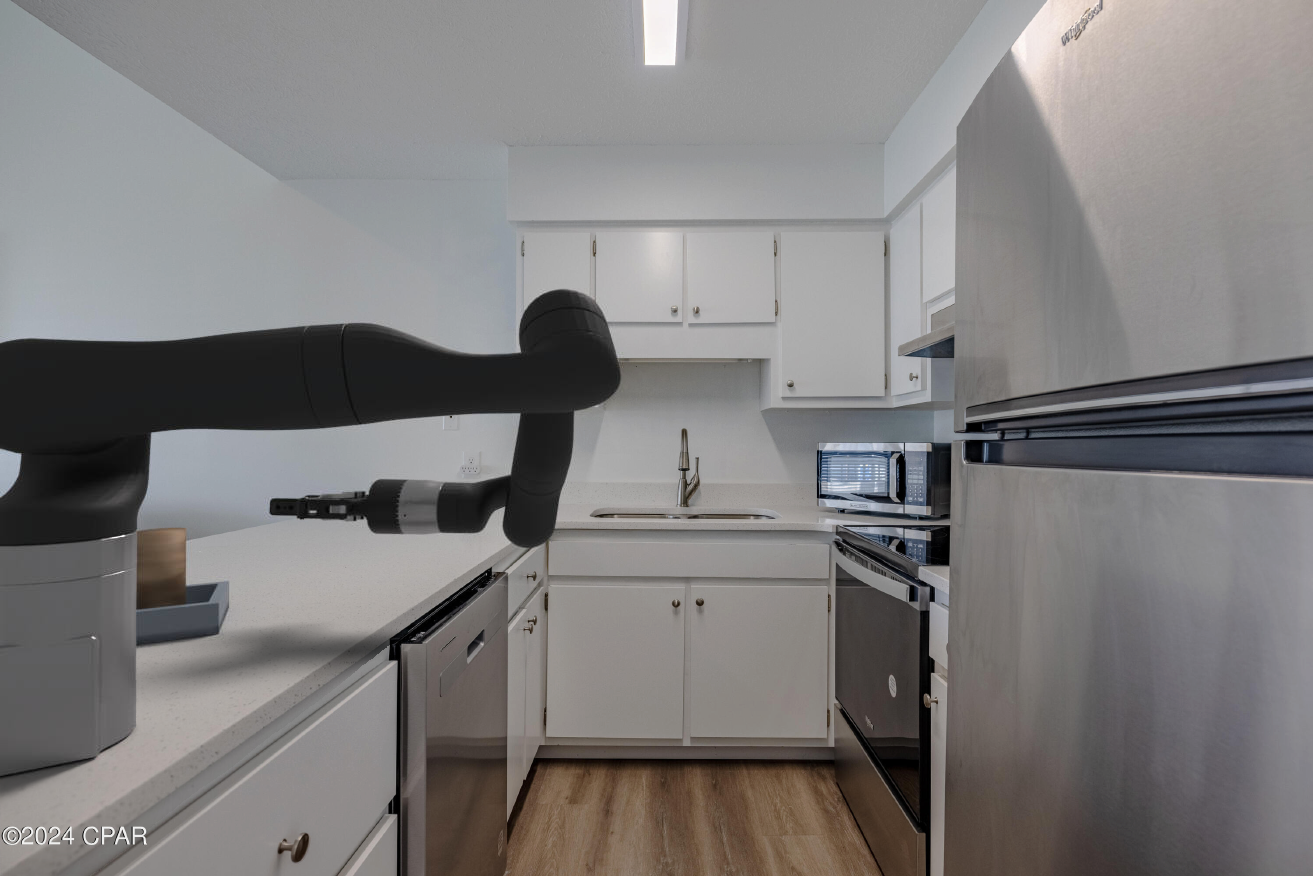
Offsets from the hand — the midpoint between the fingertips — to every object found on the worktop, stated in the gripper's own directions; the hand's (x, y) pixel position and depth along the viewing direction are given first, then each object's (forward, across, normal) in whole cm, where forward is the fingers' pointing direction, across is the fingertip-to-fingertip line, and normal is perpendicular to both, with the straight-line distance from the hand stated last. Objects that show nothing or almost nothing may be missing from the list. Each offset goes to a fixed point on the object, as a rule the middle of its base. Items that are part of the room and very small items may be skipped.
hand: (288, 504), depth 82 cm
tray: (+16, 0, -17) cm, 23 cm away
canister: (+16, 0, -16) cm, 22 cm away
